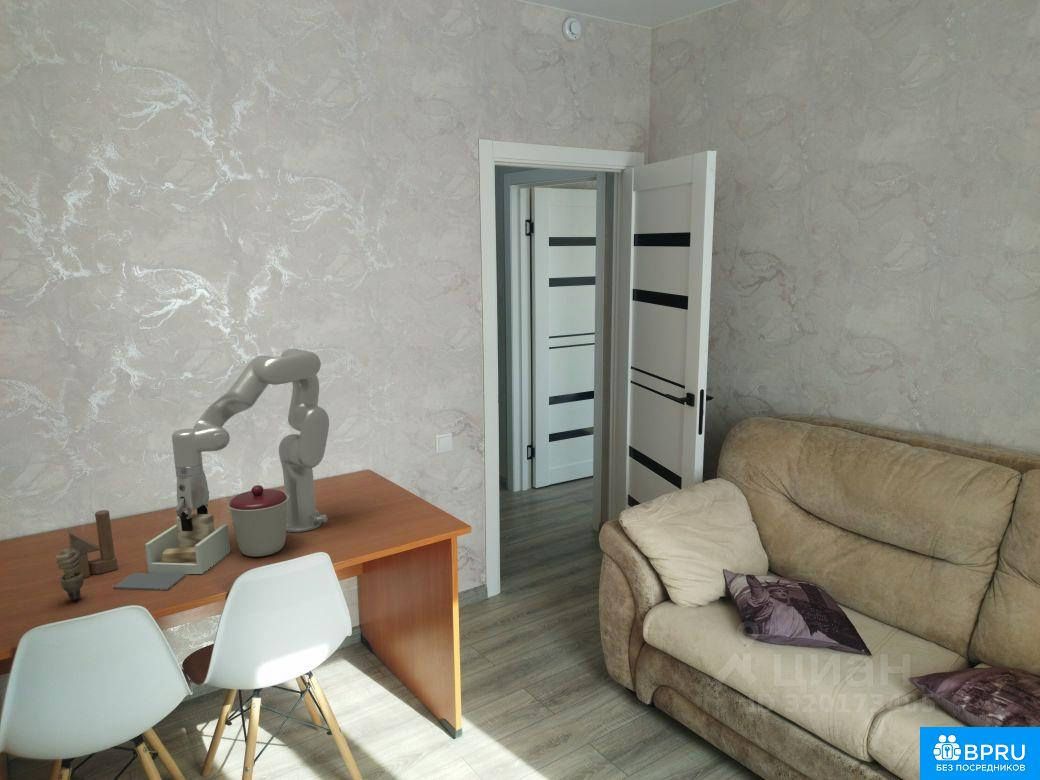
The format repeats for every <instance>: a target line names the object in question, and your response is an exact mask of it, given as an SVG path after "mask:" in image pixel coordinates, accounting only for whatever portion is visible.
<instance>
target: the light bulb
mask: <svg viewBox="0 0 1040 780" xmlns="http://www.w3.org/2000/svg"><path fill="white" fill-rule="evenodd" d="M79 555H80V551H79V550H78V549H75V548H70V547H67V548H66V547H65V548H61V549H60V554H57V555H56V556H55V560H56V564H57V569H58V570H60V571H61V570H63V575H62V576H61V577H60V578H59V580H60V585H61V588H62V590H64V591H65V592H66V593H67V597H68V599H69V601H73V602H77V601H79V600H80V598H81V596H82V594H81V588H82V587H83V585H84V581H85V580H84V578H83V574H82V573H81V572H77V568H78V567H79V566H80V564H81V563H80V556H79Z"/></svg>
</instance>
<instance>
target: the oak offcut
mask: <svg viewBox="0 0 1040 780" xmlns="http://www.w3.org/2000/svg"><path fill="white" fill-rule="evenodd" d="M162 560H163V563H183V562H195V561H196V553H195V547H186V548H173V549H166V550H165V551H164V552H163V554H162Z"/></svg>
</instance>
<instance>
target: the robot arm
mask: <svg viewBox="0 0 1040 780" xmlns="http://www.w3.org/2000/svg"><path fill="white" fill-rule="evenodd" d="M321 366H322V363H321V360H320V357H319V355H317V354H316V353H314V352H313V351H308V350H304V349H298V348H288V349H286V350H284V351H283V352H282V353H281V355H280V356H278V357H277V356H275V357H274V356H270V355H269V356H268V355H257V356H255V357H254V358H252V360H251V361H250V362H249V363H248V364H247V366H245V368H244V369H243V370H242V373H241V374H240V375H239V376H238V378H237V379H236V381H235V382H234V383H233V384H232V386H231V387H230V388H229V389H228V390H227V392H226V393H224V394H223V395H221V396H220V397H219V398H218V399H217V400H215V401H214V402H213V403H211V404H210V405H209V406H208V408H207V409H206V410H205V411H204V412H203V413H202V414H201V416H200V417H199V419H198V420H197V421H196V423H195V424H194V426H193V428H182V429H178V430H175V431H174V432H173V433H172V434H171V439H172V440H171V441H172V451H173V460H174V468H175V476H176V502H177V505H176V507H175V513H176V514H177V517H178V516H179V519H181V526H182V531H193V526H192V518H190V516H191V514H192V511H195V510H196V514H209V513H208V511H209V510H208V507H209V504H208V503H209V500H210V490H209V486H208V480H207V476H206V474H205V473H206V472H205V470H204V466H203V455H202V453H203V452H216V451H221V450H223V449H225V448H226V447H227V446H228V445H229V443H230V438H231V437H230V433H229V432H228V430H226V429H225V428H223V426H224V425H225V424H226V422H228V421H229V420H230V419H231V418H232V417H234V416H235V415H238V414H239V413H242V412H244V411H247V410H249V409H250V408H253V406H254V405H255V403H256V402H257V401H258V399H259V398H260V397H261V396H262V394H263V392H264V391H265V390H266V388H267V387H268V386H269V385H272V386H275V385H283V384H289V383H292V384H291V385H292V391H291V393H292V394H291V397H290V398H291V399H290V404H289V410H288V415H287V422H288V425H289V426H290V428H292V429H294V430H296V431H298V432H299V434H297V433H291V434H288V435H286V436H284V437H283V438H282V440H281V441H280V443H279V446H278V455H279V456H278V457H279V459H280V464H281V468H282V474H283V488H284V489H283V490H284V493H286V494H288V495H289V500H288V501H287V525H286V532H289V533H302V532H308V531H312V530H316V529H317V528H319V527H320V526H322V523H328V521H329V519H328V516H327V514H320V511H319V510H318V509H316V497H315V482H314V471H313V469H314V468H315V467H317V466H319V464H320V463H321V462H322V461H323V458H324V455H325V451H326V447H327V446H326V445H327V441H328V435H329V430H330V418H329V415H328V412H327V411H326V410H325V409H324V408H322V407H321V406H318V403H319V395H320V382H319V381H320V380H319V377H318V373H319V372H320V369H321Z"/></svg>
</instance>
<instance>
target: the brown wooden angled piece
mask: <svg viewBox="0 0 1040 780" xmlns="http://www.w3.org/2000/svg"><path fill="white" fill-rule="evenodd" d="M94 513H95V514H94V517H95V523H96V531H97V539H98V540H97V541H98V545H97V544H95V543H93V542H92V541H90V540H88V539H86V538H84V537H82V536H81V535H78V534H77V533H75V532H74V531H72V530H70V529H68V530H67V533H68V540H69V546H70V547H69V548H75V549H78V550H79V551H80V555H79V556H80V563H81V564H80V566H79V567H78V568H77V572H81V573H82V574H83V579H85V578H88V577H90V576H91V575H100V574H105V573H108V572H112V571H116V570H118V569H119V567H118V559H117V557H116V554H115V548H114V540H113V531H112V524H111V516H110V515H111V514H110V511H109V509H108V510H107V509H103V510H98V511H96V512H94ZM98 551H99V553H100V557H99V558H96V559H91V560H89V558H88V554H89V553H93V552H94V553H95V552H98Z"/></svg>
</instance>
